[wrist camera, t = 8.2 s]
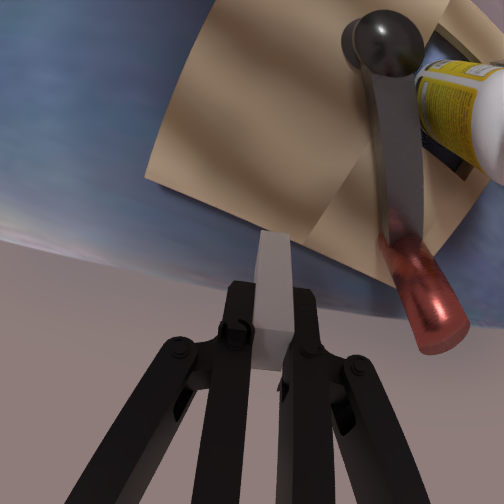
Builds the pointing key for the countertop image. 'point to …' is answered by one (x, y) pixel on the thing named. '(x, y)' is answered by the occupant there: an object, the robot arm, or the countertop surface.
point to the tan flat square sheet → (305, 123)
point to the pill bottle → (465, 111)
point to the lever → (404, 177)
